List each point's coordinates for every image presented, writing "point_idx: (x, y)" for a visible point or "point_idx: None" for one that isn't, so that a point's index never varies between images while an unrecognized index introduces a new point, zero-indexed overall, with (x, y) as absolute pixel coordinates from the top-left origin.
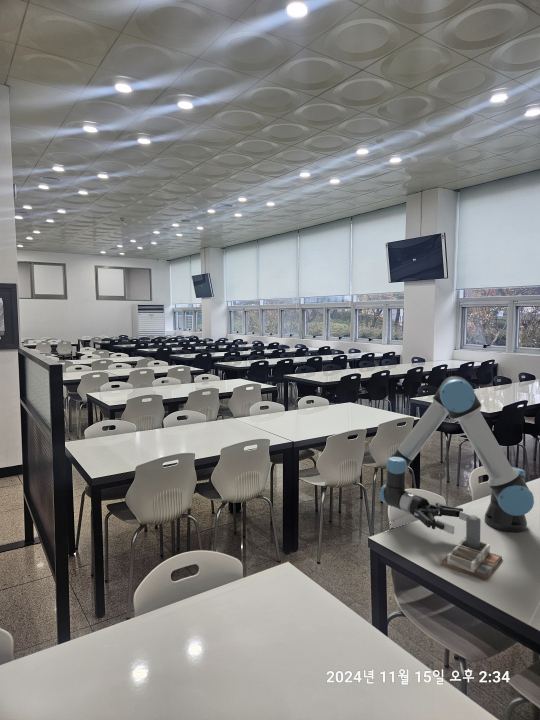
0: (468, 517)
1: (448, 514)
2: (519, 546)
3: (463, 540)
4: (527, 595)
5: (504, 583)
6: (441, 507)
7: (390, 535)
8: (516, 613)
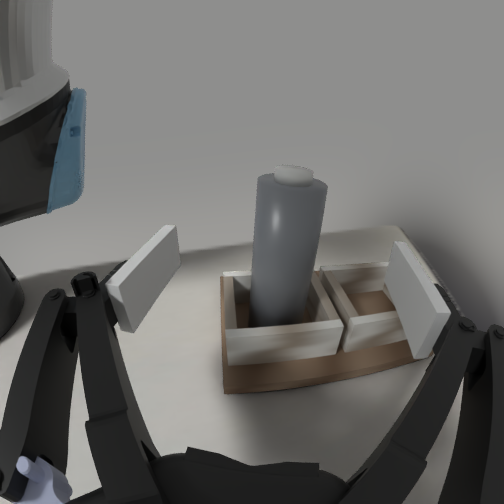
0: (295, 189)
1: (128, 388)
2: (102, 279)
3: (274, 330)
4: (334, 236)
5: (337, 258)
6: (116, 415)
7: None
8: (395, 235)
